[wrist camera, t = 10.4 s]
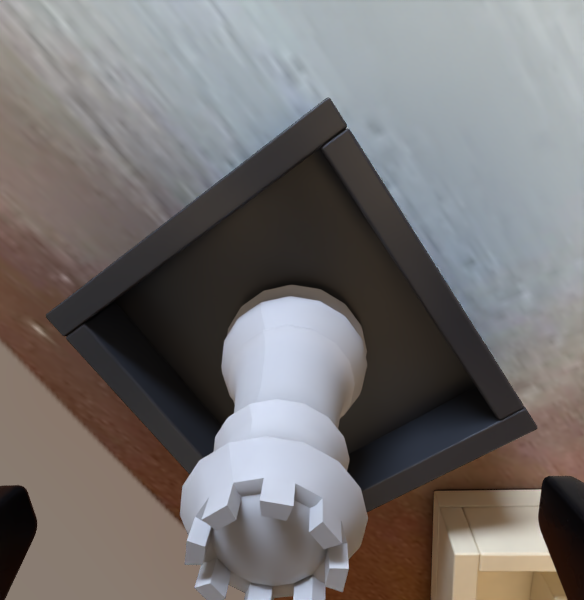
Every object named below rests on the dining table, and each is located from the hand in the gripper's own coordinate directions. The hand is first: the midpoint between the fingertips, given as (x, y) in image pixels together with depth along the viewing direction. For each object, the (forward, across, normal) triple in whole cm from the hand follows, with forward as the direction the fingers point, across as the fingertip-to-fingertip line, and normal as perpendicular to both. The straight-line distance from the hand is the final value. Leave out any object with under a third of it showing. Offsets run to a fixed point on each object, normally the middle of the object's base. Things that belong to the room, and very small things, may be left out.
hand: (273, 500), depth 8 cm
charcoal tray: (+8, 0, 0) cm, 8 cm away
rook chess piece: (+7, 0, 0) cm, 7 cm away
